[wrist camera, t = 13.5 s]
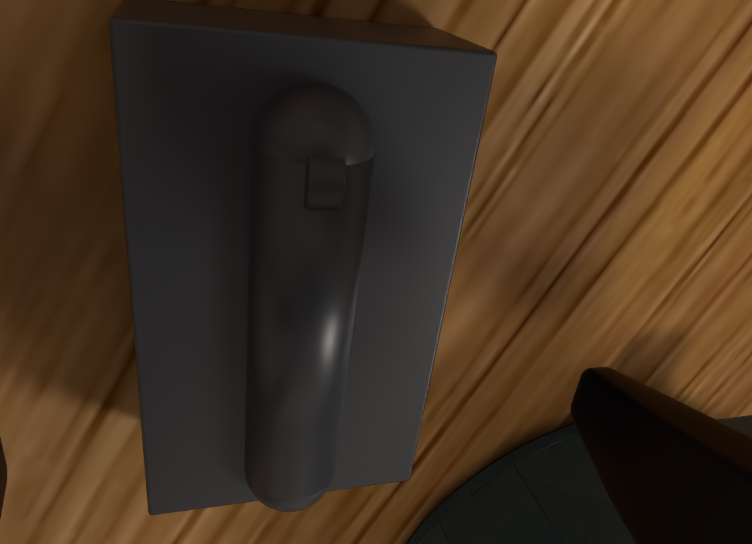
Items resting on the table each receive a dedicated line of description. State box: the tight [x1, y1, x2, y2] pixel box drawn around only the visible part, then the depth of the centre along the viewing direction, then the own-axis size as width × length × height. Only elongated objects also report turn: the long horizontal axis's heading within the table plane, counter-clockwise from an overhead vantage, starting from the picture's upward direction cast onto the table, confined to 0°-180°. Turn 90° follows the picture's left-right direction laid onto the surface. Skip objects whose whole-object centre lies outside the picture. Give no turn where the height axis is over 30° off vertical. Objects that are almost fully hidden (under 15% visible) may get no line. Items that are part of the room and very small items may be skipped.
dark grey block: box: [109, 0, 497, 515], centre depth 12 cm, size 6×10×4 cm, turn 172°
